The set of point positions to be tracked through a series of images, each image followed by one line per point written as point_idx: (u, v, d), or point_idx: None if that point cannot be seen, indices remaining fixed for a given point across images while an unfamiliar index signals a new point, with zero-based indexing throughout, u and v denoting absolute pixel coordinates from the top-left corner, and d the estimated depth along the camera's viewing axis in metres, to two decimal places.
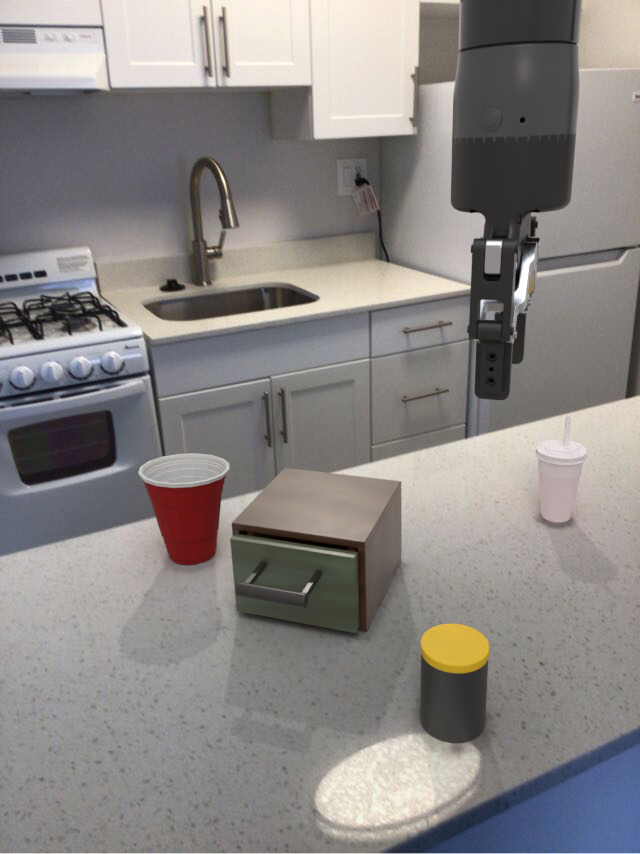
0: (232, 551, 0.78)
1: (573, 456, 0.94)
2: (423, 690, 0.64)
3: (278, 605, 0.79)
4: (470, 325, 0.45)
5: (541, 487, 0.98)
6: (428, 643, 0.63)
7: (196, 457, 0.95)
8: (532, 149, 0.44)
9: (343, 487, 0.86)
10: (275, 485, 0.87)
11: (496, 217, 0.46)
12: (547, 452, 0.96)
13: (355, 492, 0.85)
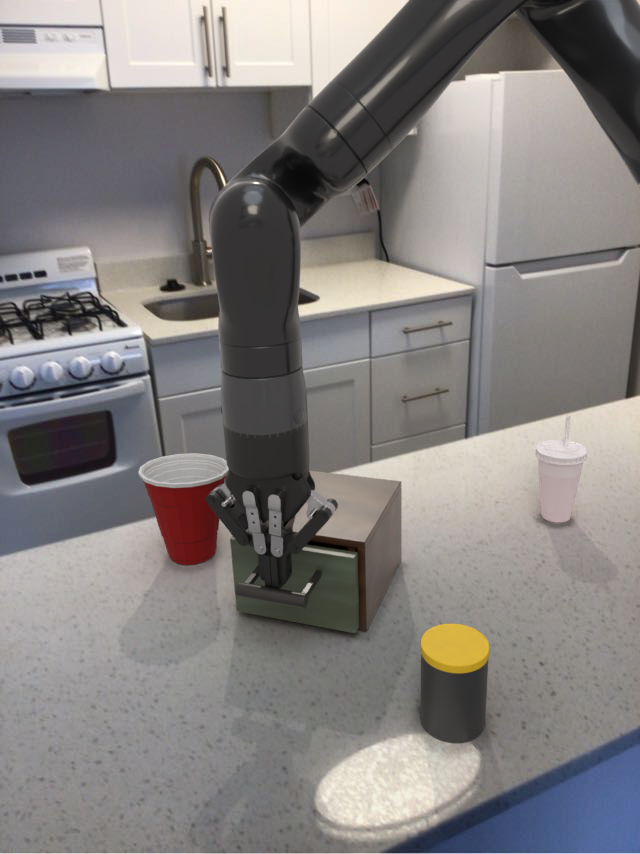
0: (232, 551, 0.78)
1: (573, 456, 0.94)
2: (423, 690, 0.64)
3: (278, 605, 0.79)
4: (301, 549, 0.69)
5: (541, 487, 0.98)
6: (428, 643, 0.63)
7: (196, 457, 0.95)
8: None
9: (343, 487, 0.86)
10: None
11: (305, 472, 0.67)
12: (547, 452, 0.96)
13: (355, 492, 0.85)
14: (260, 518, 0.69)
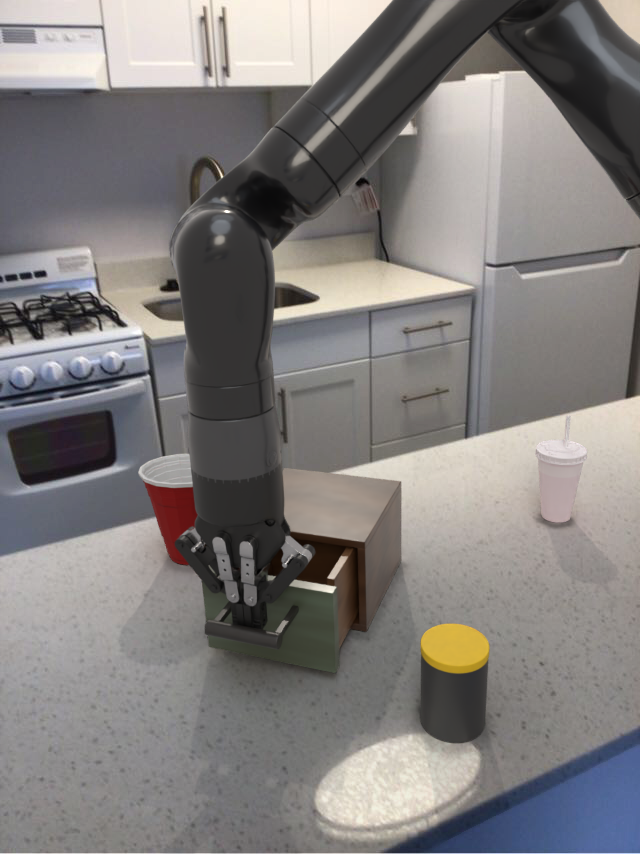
0: (203, 584, 0.73)
1: (573, 456, 0.94)
2: (423, 690, 0.64)
3: None
4: None
5: (541, 487, 0.98)
6: (428, 643, 0.63)
7: None
8: None
9: (343, 487, 0.86)
10: None
11: (279, 517, 0.62)
12: (547, 452, 0.96)
13: (355, 492, 0.85)
14: (232, 565, 0.65)
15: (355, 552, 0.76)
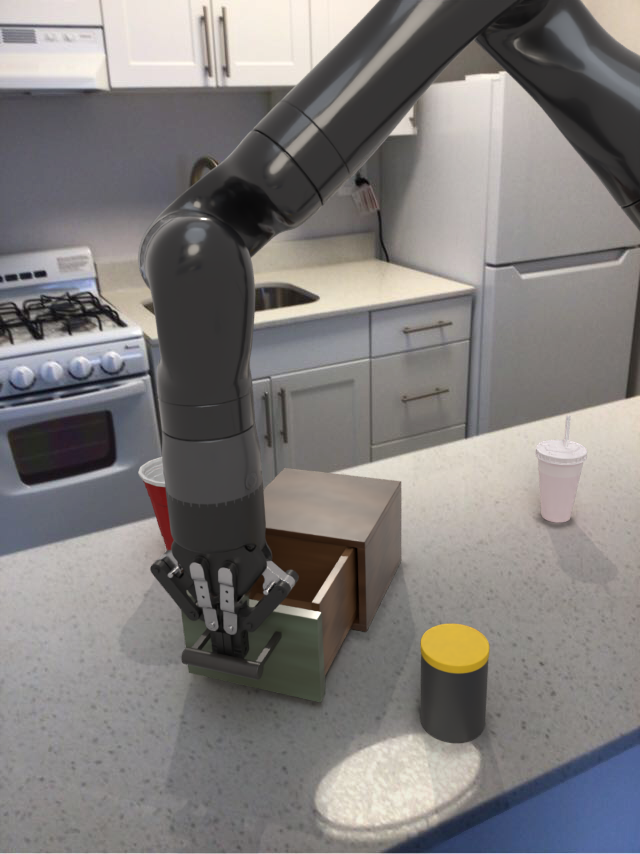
0: None
1: (573, 456, 0.94)
2: (423, 690, 0.64)
3: None
4: (257, 627, 0.61)
5: (541, 487, 0.98)
6: (428, 643, 0.63)
7: None
8: None
9: (343, 487, 0.86)
10: (275, 485, 0.87)
11: (260, 542, 0.59)
12: (547, 452, 0.96)
13: (355, 492, 0.85)
14: (210, 592, 0.61)
15: (342, 573, 0.72)
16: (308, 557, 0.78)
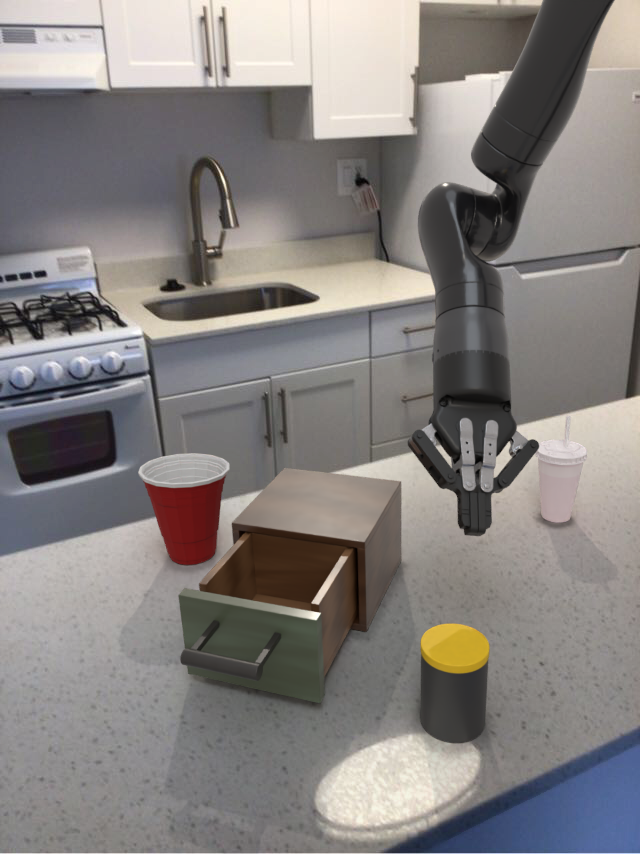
0: (181, 608, 0.69)
1: (573, 456, 0.94)
2: (423, 690, 0.64)
3: None
4: (436, 483, 0.72)
5: (541, 487, 0.98)
6: (428, 643, 0.63)
7: (196, 457, 0.95)
8: (442, 363, 0.73)
9: (343, 487, 0.86)
10: (275, 485, 0.87)
11: (434, 406, 0.74)
12: (547, 452, 0.96)
13: (355, 492, 0.85)
14: None
15: (342, 574, 0.72)
16: (307, 558, 0.78)
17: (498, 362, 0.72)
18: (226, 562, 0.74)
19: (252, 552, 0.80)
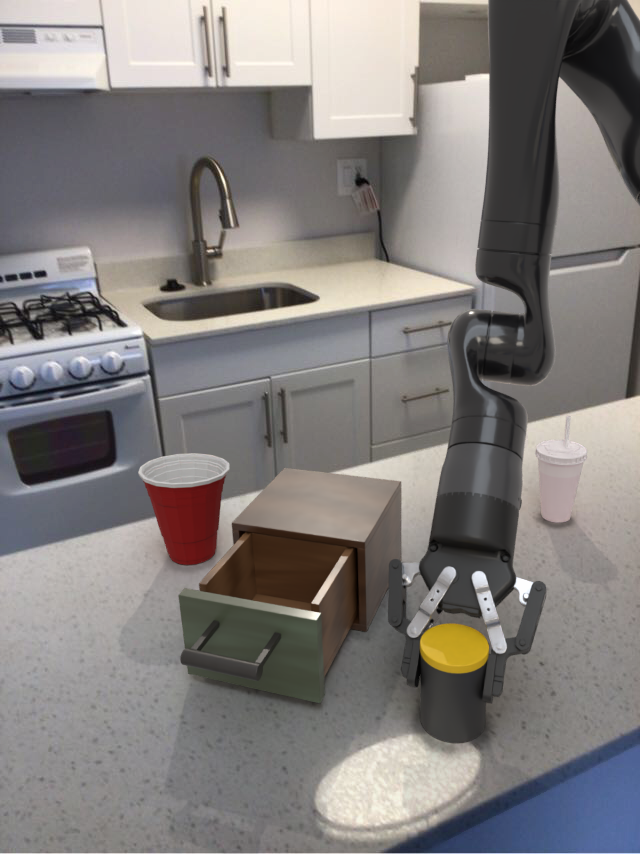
0: (181, 608, 0.69)
1: (573, 456, 0.94)
2: (423, 690, 0.64)
3: None
4: None
5: (541, 487, 0.98)
6: (427, 643, 0.63)
7: (196, 457, 0.95)
8: (436, 504, 0.69)
9: (343, 487, 0.86)
10: (275, 485, 0.87)
11: None
12: (547, 452, 0.96)
13: (355, 492, 0.85)
14: None
15: (342, 574, 0.72)
16: (307, 558, 0.78)
17: (490, 506, 0.65)
18: (226, 562, 0.74)
19: (252, 552, 0.80)
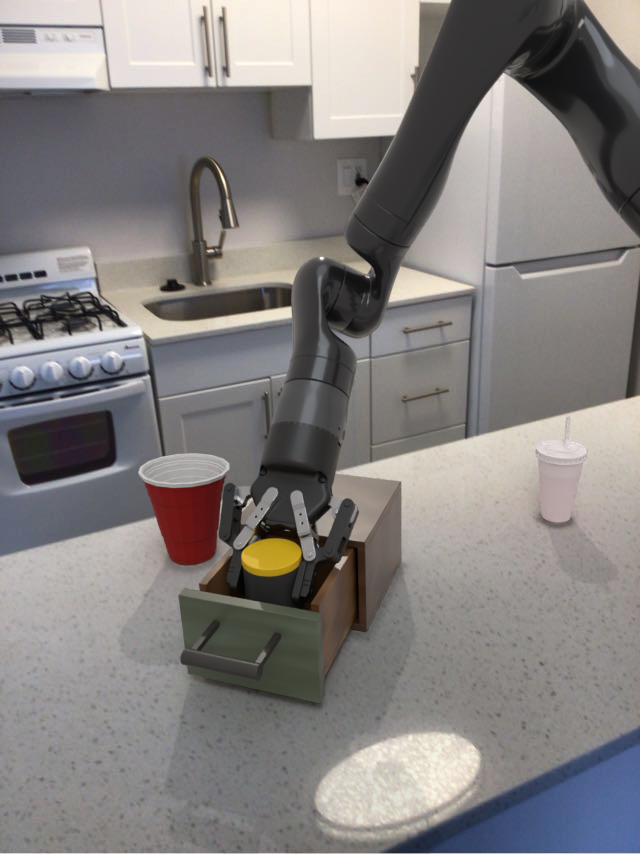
0: (181, 608, 0.69)
1: (573, 456, 0.94)
2: (245, 595, 0.72)
3: None
4: None
5: (541, 487, 0.98)
6: (248, 553, 0.71)
7: (196, 457, 0.95)
8: (268, 434, 0.76)
9: (343, 487, 0.86)
10: None
11: None
12: (547, 452, 0.96)
13: (355, 492, 0.85)
14: None
15: (342, 574, 0.72)
16: None
17: (309, 433, 0.73)
18: (226, 562, 0.74)
19: None
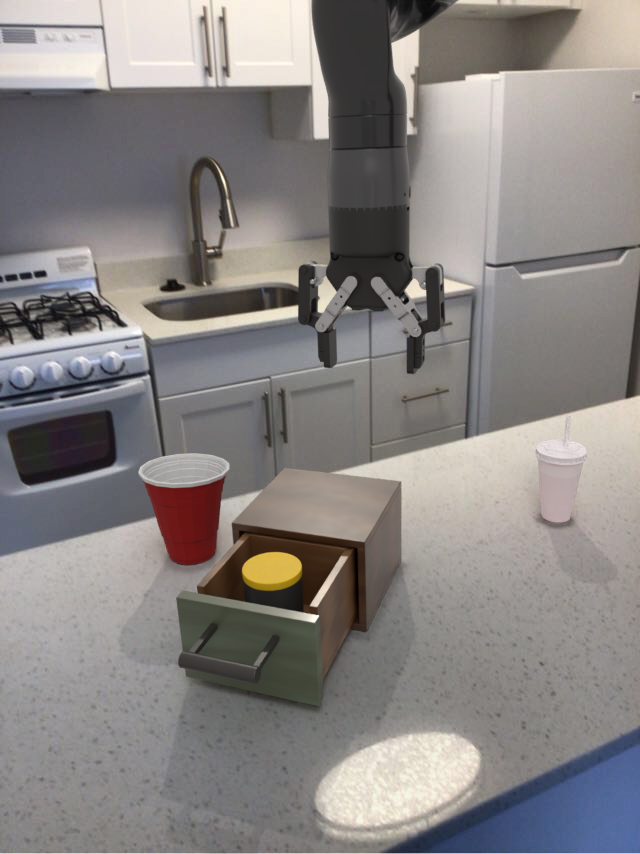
0: (179, 611, 0.69)
1: (573, 456, 0.94)
2: None
3: None
4: None
5: (541, 487, 0.98)
6: (249, 567, 0.72)
7: (196, 457, 0.95)
8: None
9: (343, 487, 0.86)
10: (275, 485, 0.87)
11: None
12: (547, 452, 0.96)
13: (355, 492, 0.85)
14: None
15: (340, 576, 0.72)
16: (306, 560, 0.78)
17: (375, 218, 0.67)
18: (224, 564, 0.74)
19: (250, 554, 0.79)
